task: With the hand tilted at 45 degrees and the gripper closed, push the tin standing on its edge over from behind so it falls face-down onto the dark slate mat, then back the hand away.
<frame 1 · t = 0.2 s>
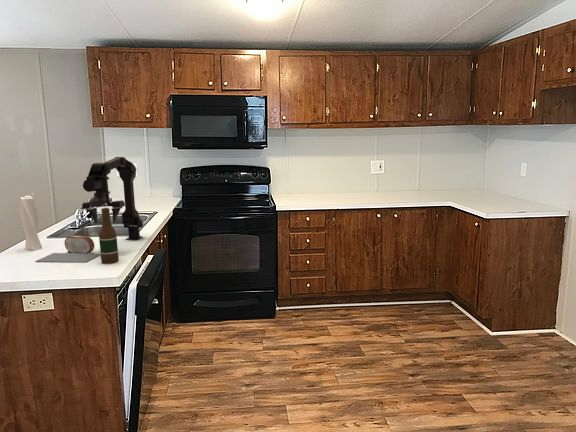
hand: (105, 222, 223), 14 cm above the worktop, tool pointing down, fingers open, 9 cm apart
beer bottle: (110, 262, 209), on the worktop
slate mat: (69, 258, 216), on the worktop
tin: (80, 253, 225), on the worktop
skyscraper: (34, 249, 235), on the worktop
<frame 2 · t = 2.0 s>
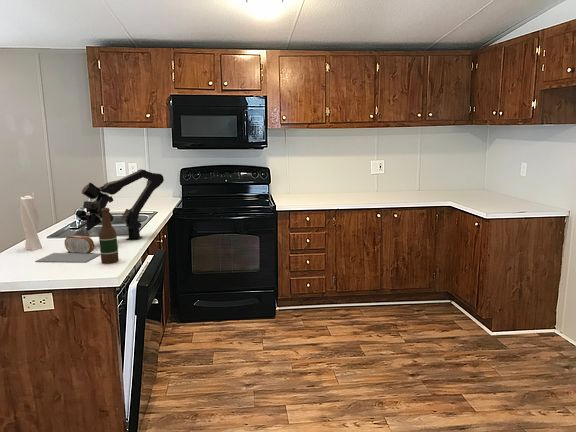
hand: (87, 230, 230), 10 cm above the worktop, tool tilted 45°, fingers closed
nothing on the worktop moved.
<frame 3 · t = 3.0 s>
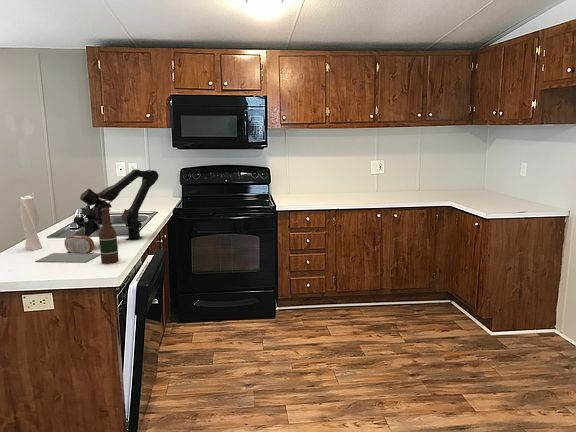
hand: (85, 236, 228), 7 cm above the worktop, tool tilted 45°, fingers closed
nothing on the worktop moved.
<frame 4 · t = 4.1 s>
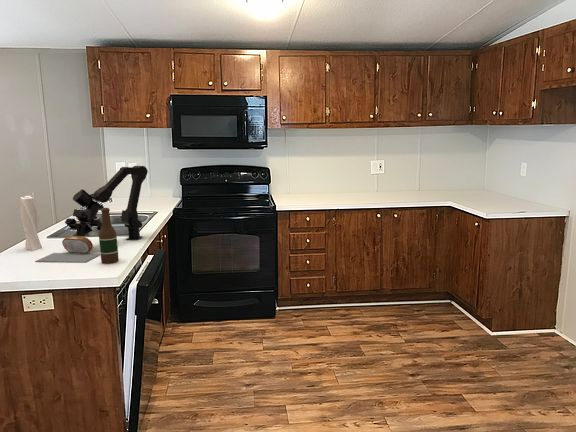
hand: (77, 239, 223), 7 cm above the worktop, tool tilted 45°, fingers closed
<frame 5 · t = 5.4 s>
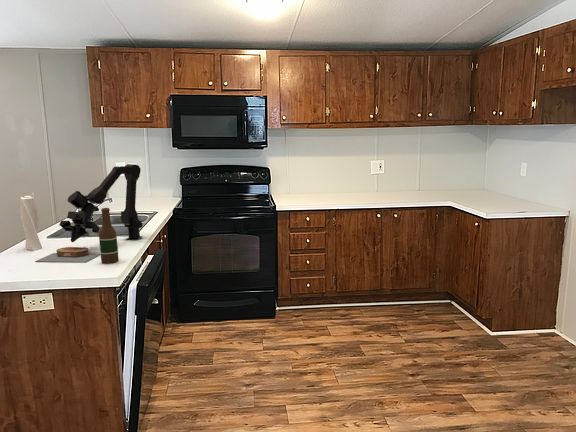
hand: (71, 241, 219), 7 cm above the worktop, tool tilted 45°, fingers closed
tin: (78, 250, 224), point 1 cm above the worktop, touching slate mat
everything else where it was.
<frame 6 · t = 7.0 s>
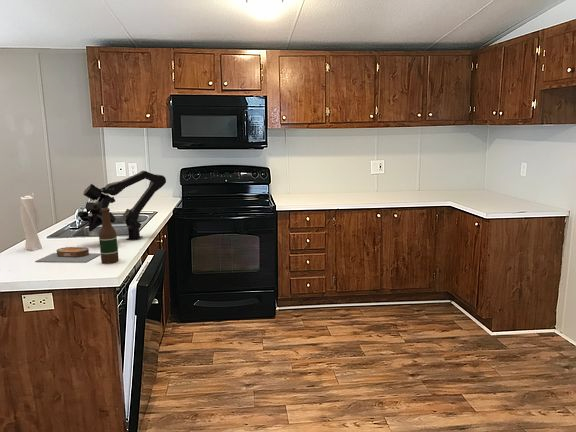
hand: (89, 231, 231), 9 cm above the worktop, tool tilted 45°, fingers closed
nothing on the worktop moved.
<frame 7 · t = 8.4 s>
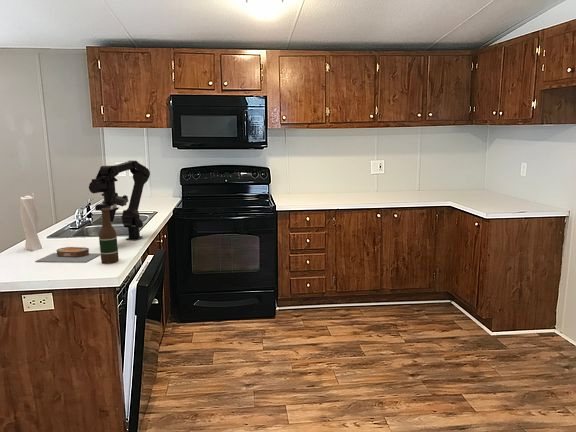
hand: (111, 222, 236), 12 cm above the worktop, tool pointing down, fingers closed
nothing on the worktop moved.
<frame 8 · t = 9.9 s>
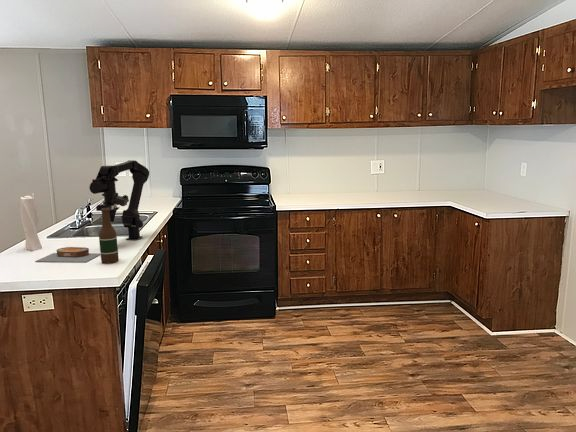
hand: (112, 222, 236), 12 cm above the worktop, tool pointing down, fingers closed
nothing on the worktop moved.
at the end: tin tilted 85°; tin touching slate mat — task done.
